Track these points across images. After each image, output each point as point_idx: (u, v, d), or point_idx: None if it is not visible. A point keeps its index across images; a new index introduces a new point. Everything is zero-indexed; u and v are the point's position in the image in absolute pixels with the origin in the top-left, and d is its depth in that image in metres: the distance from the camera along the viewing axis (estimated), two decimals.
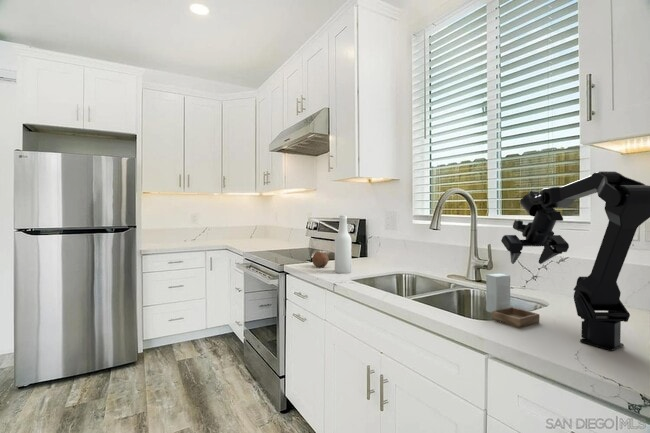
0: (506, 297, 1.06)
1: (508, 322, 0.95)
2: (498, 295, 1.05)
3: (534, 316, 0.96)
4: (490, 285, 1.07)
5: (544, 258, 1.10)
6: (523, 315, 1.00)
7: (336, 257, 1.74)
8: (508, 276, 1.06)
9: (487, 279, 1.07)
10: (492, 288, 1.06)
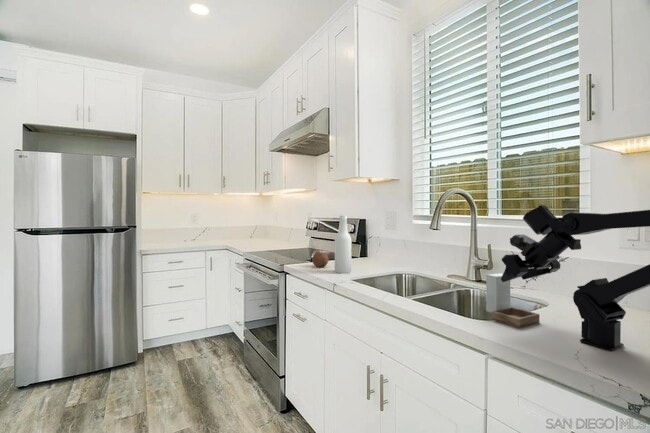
0: (506, 297, 1.06)
1: (508, 322, 0.95)
2: (498, 295, 1.05)
3: (534, 316, 0.96)
4: (490, 285, 1.07)
5: (531, 275, 1.02)
6: (523, 315, 1.00)
7: (336, 257, 1.74)
8: None
9: (487, 279, 1.07)
10: (492, 288, 1.06)
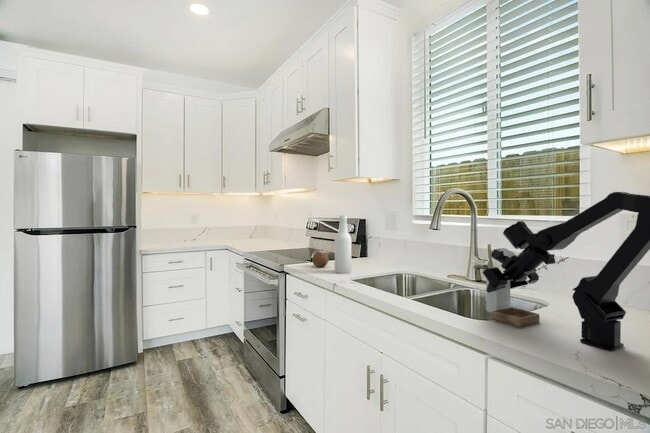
0: (506, 297, 1.06)
1: (508, 322, 0.95)
2: (498, 295, 1.05)
3: (534, 316, 0.96)
4: None
5: None
6: (523, 315, 1.00)
7: (336, 257, 1.74)
8: None
9: None
10: None
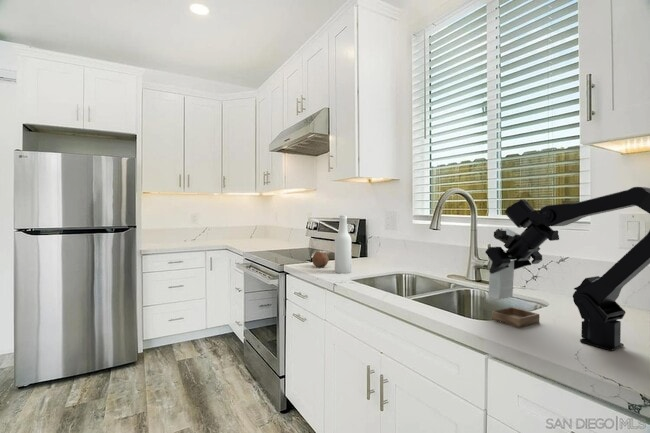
0: (509, 282, 1.04)
1: (508, 322, 0.95)
2: (502, 279, 1.03)
3: (534, 316, 0.96)
4: None
5: None
6: (523, 315, 1.00)
7: (336, 257, 1.74)
8: (512, 261, 1.05)
9: (491, 264, 1.06)
10: (496, 273, 1.04)
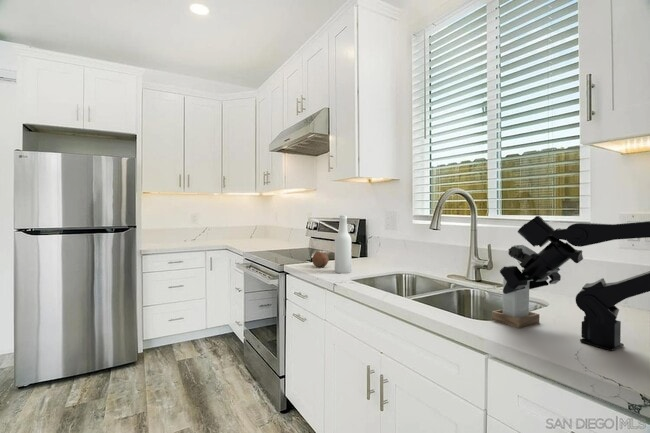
0: (524, 303, 0.97)
1: (508, 322, 0.95)
2: (517, 301, 0.95)
3: (534, 316, 0.96)
4: None
5: None
6: None
7: (336, 257, 1.74)
8: None
9: (504, 283, 0.98)
10: (510, 294, 0.96)
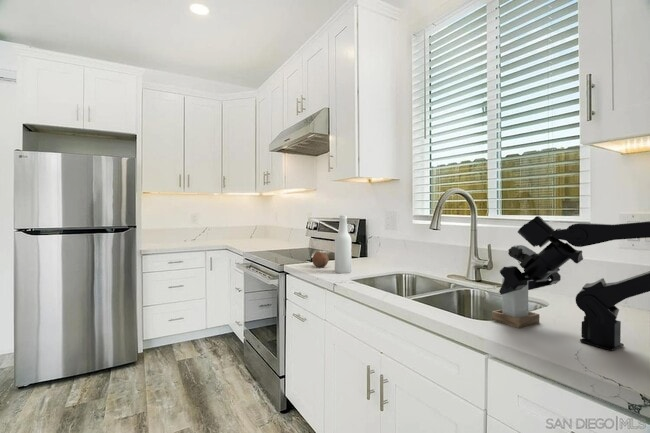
0: (524, 303, 0.97)
1: (508, 322, 0.95)
2: (516, 300, 0.96)
3: (534, 316, 0.96)
4: None
5: (530, 287, 0.99)
6: None
7: (336, 257, 1.74)
8: None
9: None
10: (510, 293, 0.97)
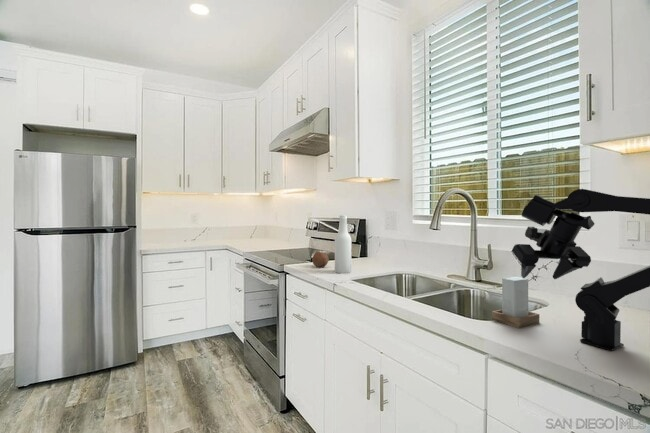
0: (524, 303, 0.97)
1: (508, 322, 0.95)
2: (516, 300, 0.96)
3: (534, 316, 0.96)
4: (506, 290, 0.98)
5: (560, 273, 0.94)
6: None
7: (336, 257, 1.74)
8: (526, 280, 0.97)
9: (503, 283, 0.98)
10: (510, 293, 0.97)
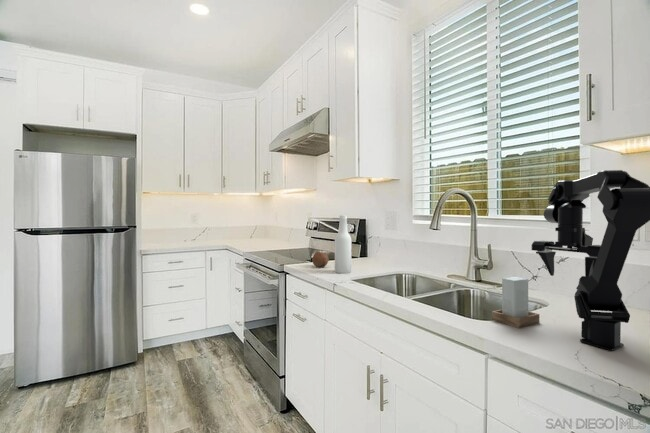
0: (524, 303, 0.97)
1: (508, 322, 0.95)
2: (516, 300, 0.96)
3: (534, 316, 0.96)
4: (506, 290, 0.98)
5: None
6: None
7: (336, 257, 1.74)
8: (526, 280, 0.97)
9: (503, 283, 0.98)
10: (510, 293, 0.97)
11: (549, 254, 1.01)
